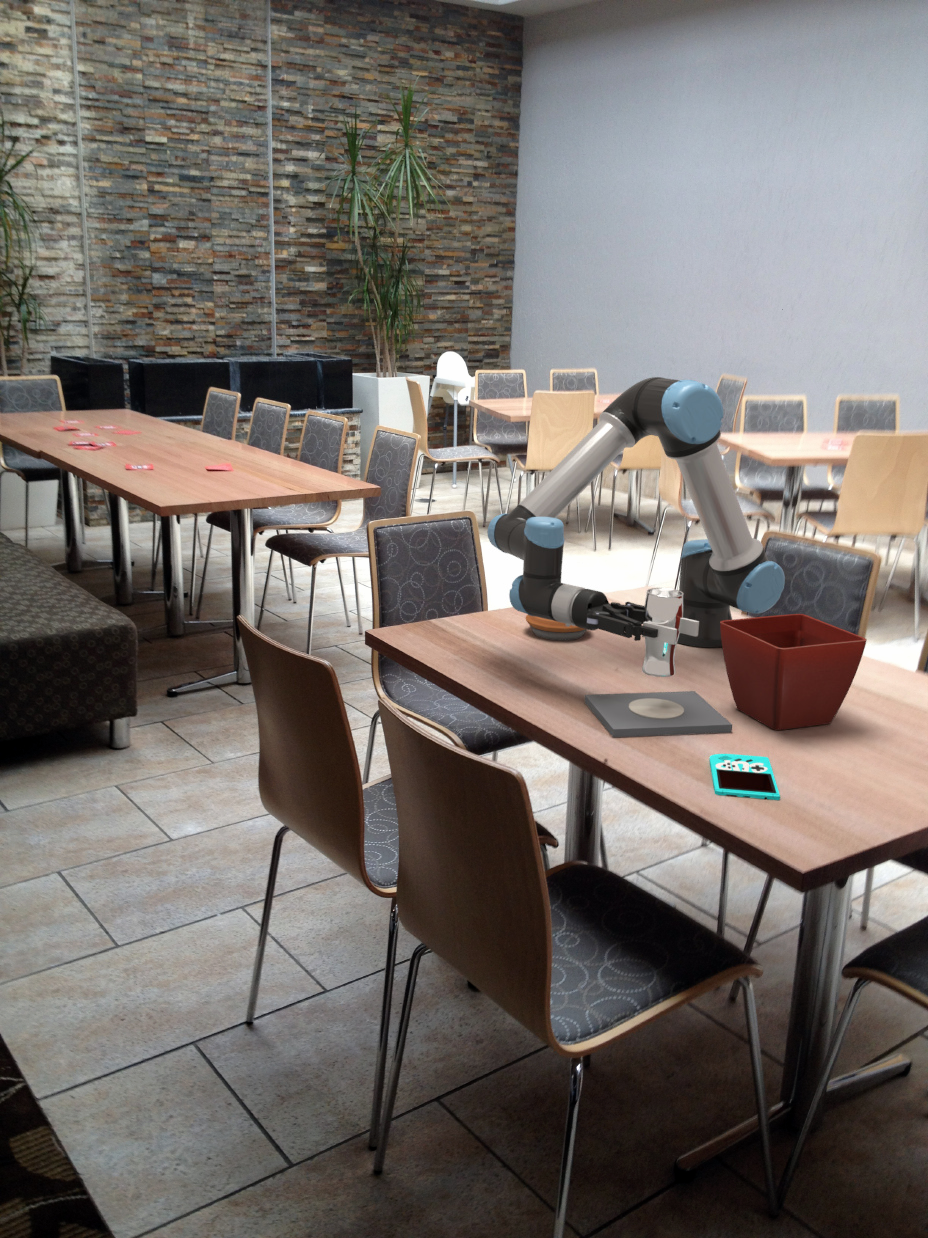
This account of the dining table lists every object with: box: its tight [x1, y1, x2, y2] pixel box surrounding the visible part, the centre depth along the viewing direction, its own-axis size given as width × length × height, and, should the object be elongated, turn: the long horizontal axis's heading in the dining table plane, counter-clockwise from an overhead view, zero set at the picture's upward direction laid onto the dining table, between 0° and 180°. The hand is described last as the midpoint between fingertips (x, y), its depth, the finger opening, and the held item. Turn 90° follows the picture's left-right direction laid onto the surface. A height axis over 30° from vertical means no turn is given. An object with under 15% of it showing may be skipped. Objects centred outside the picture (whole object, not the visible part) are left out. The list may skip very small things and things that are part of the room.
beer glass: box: [641, 587, 684, 678], centre depth 197 cm, size 7×7×15 cm
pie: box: [525, 614, 587, 641], centre depth 252 cm, size 16×16×5 cm
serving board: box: [583, 690, 733, 738], centre depth 201 cm, size 22×18×2 cm
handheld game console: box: [708, 753, 781, 801], centre depth 176 cm, size 10×16×1 cm, turn 171°
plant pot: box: [720, 613, 868, 731], centre depth 202 cm, size 19×19×17 cm
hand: (686, 632), depth 194 cm, fingers closed on beer glass, 7 cm apart
